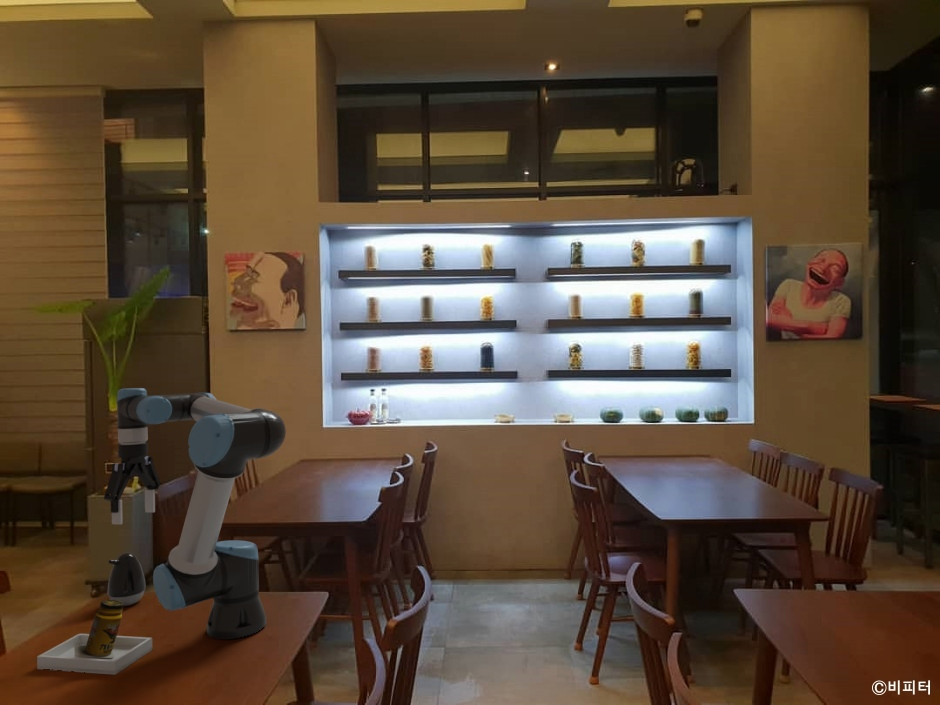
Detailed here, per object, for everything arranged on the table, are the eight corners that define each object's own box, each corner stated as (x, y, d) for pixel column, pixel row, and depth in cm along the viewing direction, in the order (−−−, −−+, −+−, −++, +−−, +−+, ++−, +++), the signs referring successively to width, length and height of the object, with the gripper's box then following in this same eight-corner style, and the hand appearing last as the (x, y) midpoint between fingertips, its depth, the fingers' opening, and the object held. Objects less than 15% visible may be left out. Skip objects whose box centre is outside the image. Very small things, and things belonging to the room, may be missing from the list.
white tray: (152, 649, 163) (152, 637, 163) (115, 674, 150) (115, 661, 150) (79, 645, 167) (79, 633, 167) (37, 669, 154) (37, 656, 154)
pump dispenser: (100, 605, 194) (99, 555, 194) (133, 594, 203) (132, 546, 203) (119, 612, 189) (118, 560, 189) (152, 600, 198) (151, 550, 198)
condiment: (113, 658, 157) (128, 607, 159) (74, 657, 153) (90, 605, 155) (112, 647, 163) (126, 598, 165) (74, 646, 159) (89, 596, 161)
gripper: (149, 437, 196) (151, 507, 196) (88, 449, 171) (89, 529, 171) (172, 437, 195) (173, 507, 195) (113, 449, 170) (114, 529, 170)
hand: (134, 518), depth 183 cm, fingers open, 13 cm apart
